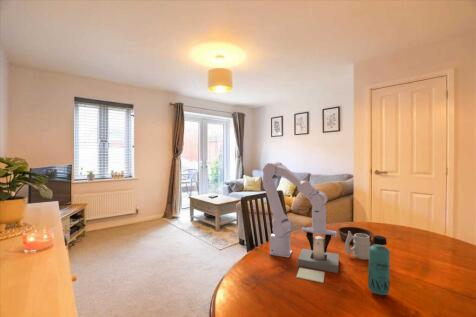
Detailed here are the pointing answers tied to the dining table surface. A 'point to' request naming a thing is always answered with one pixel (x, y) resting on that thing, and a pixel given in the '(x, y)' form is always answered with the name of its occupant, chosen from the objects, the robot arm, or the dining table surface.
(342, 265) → the dining table surface
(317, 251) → the cream strapped capsule
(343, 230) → the dish
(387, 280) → the beverage bottle
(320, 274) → the mat
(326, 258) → the holder
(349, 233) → the mug
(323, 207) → the robot arm
